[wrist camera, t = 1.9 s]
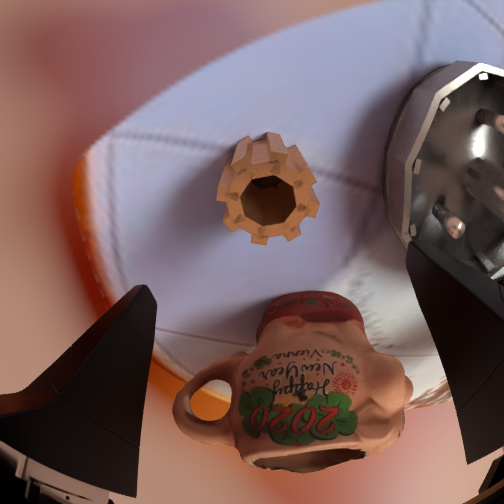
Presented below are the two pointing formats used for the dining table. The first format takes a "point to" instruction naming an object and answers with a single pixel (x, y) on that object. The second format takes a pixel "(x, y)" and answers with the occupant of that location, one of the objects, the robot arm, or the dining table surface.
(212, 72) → the dining table surface
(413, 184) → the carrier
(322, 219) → the dining table surface
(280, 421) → the terracotta mug
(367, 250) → the dining table surface
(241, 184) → the bronze pinion
